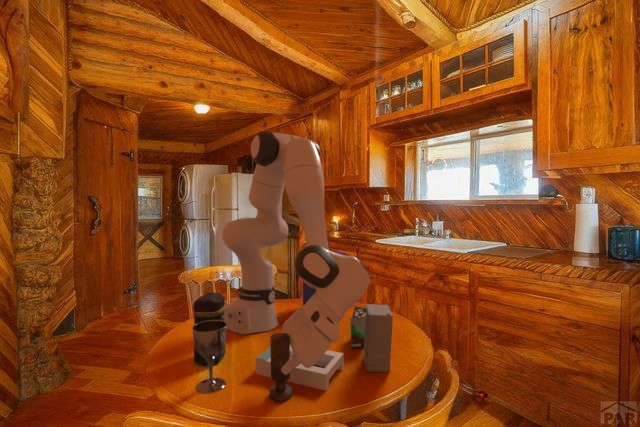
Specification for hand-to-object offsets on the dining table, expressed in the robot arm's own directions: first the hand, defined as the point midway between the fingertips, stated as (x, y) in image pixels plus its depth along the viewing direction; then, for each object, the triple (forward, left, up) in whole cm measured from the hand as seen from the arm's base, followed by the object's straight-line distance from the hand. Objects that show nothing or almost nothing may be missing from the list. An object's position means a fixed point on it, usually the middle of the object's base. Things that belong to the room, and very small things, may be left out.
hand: (279, 361), depth 80 cm
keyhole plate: (-1, +12, -8) cm, 15 cm away
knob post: (0, 0, -8) cm, 8 cm away
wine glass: (-18, -3, -8) cm, 20 cm away
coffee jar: (-28, +8, -8) cm, 30 cm away
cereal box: (-15, +60, -8) cm, 63 cm away
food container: (+9, +35, -8) cm, 37 cm away
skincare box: (+17, +23, -8) cm, 30 cm away
